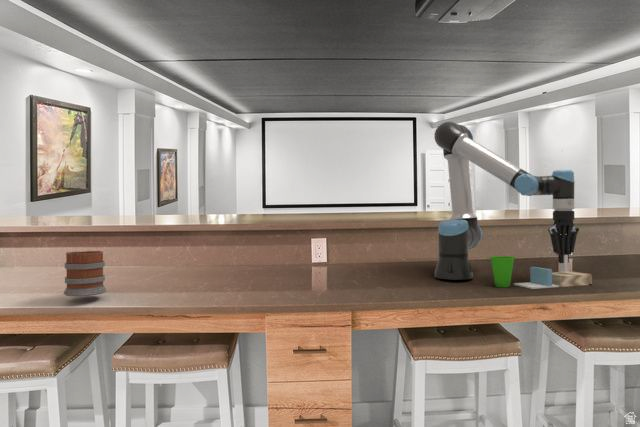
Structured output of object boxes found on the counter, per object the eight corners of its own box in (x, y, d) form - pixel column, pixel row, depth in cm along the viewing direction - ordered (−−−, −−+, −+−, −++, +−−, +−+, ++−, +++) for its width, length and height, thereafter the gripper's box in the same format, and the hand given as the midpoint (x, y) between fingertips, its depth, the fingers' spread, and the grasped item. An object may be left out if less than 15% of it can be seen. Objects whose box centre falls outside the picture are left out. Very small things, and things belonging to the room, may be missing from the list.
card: (552, 285, 184) (547, 286, 184) (534, 282, 193) (530, 282, 192) (552, 269, 184) (547, 269, 184) (534, 266, 193) (530, 267, 192)
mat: (532, 288, 181) (532, 287, 181) (513, 284, 191) (513, 283, 191) (559, 287, 185) (559, 285, 185) (539, 283, 194) (539, 281, 194)
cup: (488, 287, 185) (488, 257, 185) (491, 283, 194) (490, 255, 194) (514, 288, 182) (514, 258, 182) (515, 285, 190) (515, 256, 190)
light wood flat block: (560, 287, 185) (560, 276, 185) (540, 283, 194) (540, 273, 194) (591, 284, 189) (591, 274, 189) (571, 281, 199) (571, 271, 199)
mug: (55, 296, 172) (55, 253, 172) (81, 288, 192) (80, 249, 191) (96, 296, 173) (96, 253, 173) (117, 287, 192) (117, 248, 192)
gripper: (557, 210, 186) (557, 273, 186) (584, 210, 190) (584, 271, 190) (542, 210, 193) (542, 271, 193) (569, 210, 197) (569, 269, 197)
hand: (563, 271), depth 192 cm, fingers closed
